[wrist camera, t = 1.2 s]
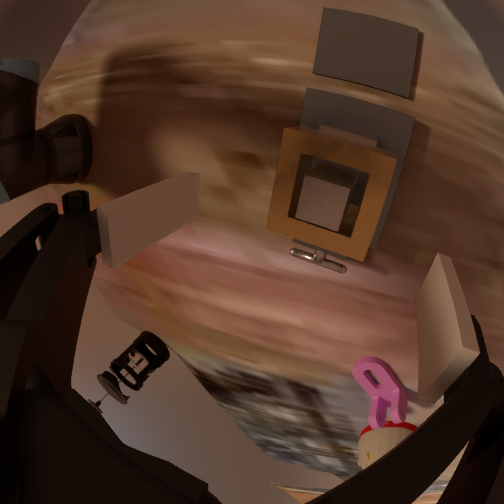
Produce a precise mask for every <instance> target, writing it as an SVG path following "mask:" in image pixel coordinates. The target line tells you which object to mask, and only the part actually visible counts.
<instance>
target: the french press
mask: <svg viewBox="0 0 504 504" xmlns="http://www.w3.org/2000/svg"><path fill="white" fill-rule="evenodd" d="M145 344H147V345H148V346H149V347H151V348H152V349H153V350H154V351H155V353H156V354H157V355H155V354H153V353H152V352H151V351H150V350H149V349H148V348H147V346H146V345H145ZM169 357H170V353H169V351H168V348H167V347H166V345H165V344H164V343H163V342H162V341H161V340H160V339H159V338H158V337H157V336H156V335H154V334H153V333H151V332H148V331H143V332H142V333H141V334H140V336H139V337H138V338H136V339H135V340H134V342H133V344H132V345H130V346H129V347H128V348H127V349H126V350H125V351H124V352H123V353H122V354H121V355H120V356H119V357H118V358H117V359H114V360H113V361H112V362H111V364H110V365H111V366H110V367H109V368H110V370H111V371H112V372H113V373H114V374H116V376H117V377H118V378H119V379H120V381H119V382H118V379H117V378H116V377H115V376H114V375H113V374H111V373H110V372H108V371H104V372H103V373H102V374H101V375H100V374H98V375H97V379H98V381H99V382H100V384H101V385H102V386H103V388H104V389H105V390H106V391H107V392H108V393H107V394H106V395H105V396H104V397H103V398H102V399H101V400H100V401H97V402H96V403H94V402H92V401H91V400H90V399H89V400H88V401H89V403H90V404H91V405H92V406H93V407H94V408H96V409H97V410H98V411H99V412H100V413H103V412H102V411H101V409H100V408H99V406H100V404H101V401H102V400H103V399H104V398H105V397H106V396H107V395H108V394H110V395H111V396H112V397H113V398H115V399H116V400H117V401H119V402H120V403H122V404H127V400H128V399H129V398H130V396H125V395H123V394H122V392H121V390H120V387H119V383H120V382H121V381H122V382H123V383H124V384H125V385H126V386H128V387H130V388H131V389H133V390H136V391H139V390H140V389H141V387H142V386H143V382H144V381H145V380H146V379H147V378H148V377H149V376H150V375H152V374H153V371H154V370H155V369H156V368H159V367H161V366H162V364H163V363H164V362H165V361H167V360H168V359H169ZM130 361H131V363H132V364H133V365H134V367H133V368H131V367H130V366H128V363H129V362H130ZM135 367H136V368H137V369H139V370H140V371H141V372H140V373H139V374H138V375H137V373H136V372H135V371H134V370H133V369H134V368H135ZM123 368H124V369H125V370H126V371H127V372H128V373H127V374H126V375H125V376H123V375H122V374H121V373H120V371H121V370H122V369H123ZM128 374H130V375H131V376H132V377H133V378H134V379H135V381H136V382H137V383H136V384H135V385H134V384H132V383H130V382H129V381H128V380H127V379H126V378H125V377H126V376H127V375H128Z"/></svg>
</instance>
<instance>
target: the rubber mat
mask: <svg viewBox="0 0 504 504" xmlns="http://www.w3.org/2000/svg"><path fill="white" fill-rule="evenodd" d="M418 32H419V29H416V28H413V27H410V26H407V25H404V24H400V23H397V22H394V21H390V20H386V19H382V18H378V17H374V16H370V15H365V14H360V13H355V12H350V11H345V10H338V9H332V8H325V7H323V14H322V20H321V26H320V32H319V39H318V44H317V50H316V56H315V62H314V68H313V74H318V75H323V76H328V77H333V78H337V79H342V80H346V81H350V82H354V83H358V84H362V85H366V86H369V87H373V88H376V89H380V90H383V91H386V92H389V93H393V94H396V95H399V96H402V97H405V98H407V99H408V98H409V93H410V87H411V82H412V76H413V70H414V63H415V57H416V49H417V41H418Z"/></svg>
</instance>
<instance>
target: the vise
mask: <svg viewBox="0 0 504 504" xmlns="http://www.w3.org/2000/svg"><path fill="white" fill-rule="evenodd" d="M414 120H415V117H412V116H410V115H407V114H404V113H401V112H398V111H395V110H392V109H389V108H386V107H383V106H380V105H376V104H373V103H370V102H366V101H363V100H359V99H355V98H352V97H348V96H344V95H340V94H335V93H331V92H327V91H322V90H317V89H312V88H307V89H306V95H305V100H304V106H303V111H302V116H301V122H300V126H303V127H308V128H312V129H316V130H320V131H324V132H328V133H331V134H335V135H339V136H342V137H346V138H349V139H353V140H356V141H359V142H363V143H366V144H369V145H372V146H375V147H378V148H381V149H384V150H387V151H390V152H393V154H394V155H395V157H396V159H397V161H396V165H395V168H394V172H393V175H392V179H391V182H390V186H389V189H388V192H387V195H386V199H385V202H384V205H383V208H382V211H381V214H380V217H379V220H378V223H377V226H376V229H375V231H374V234H373V237H372V240H371V242H370V245H369V248H371V249H374V250H375V248H376V246H377V243H378V240H379V238H380V235H381V232H382V230H383V227H384V224H385V221H386V218H387V215H388V212H389V209H390V206H391V203H392V200H393V197H394V194H395V191H396V188H397V184H398V181H399V178H400V174H401V171H402V167H403V164H404V160H405V157H406V153H407V149H408V145H409V141H410V137H411V133H412V129H413V125H414ZM368 175H369V173H368V172H365V171H361V170H358V169H355V168H352V167H349V166H346V165H342V164H339V163H336V162H332V161H329V160H325V159H322V158H318V157H315V156H313V161H312V165H311V170H310V171H309V172H308V173H307V174H305V176H304V180H303V185H302V189H301V194H300V198H299V203H298V207H297V211H296V216H295V218H298V219H301V220H305V221H308V222H311V223H314V224H317V225H320V226H323V227H326V228H328V229H331V230H334V231H337V232H338V230H339V227H340V225H341V222H342V220H343V217H344V214H345V213H347V214H350V215H352V216H355V217H356V216H357V213H358V210H359V206H360V203H361V200H362V196H363V193H364V190H365V186H366V183H367V179H368ZM293 242H295V243H298V244H301V245H303V246H306V247H309V248H312V249H315V252H314V254H312V253H309V252H306V251H303V250H300V249H297V248H292V249H291V250H290V254H291V255H292V256H294V257H297V258H300V259H303V260H306V261H308V262H311V263H314V264H317V265H320V266H322V267H325V268H328V269H331V270H334V271H336V272H339V273H345V272H346V271H347V267H346V266H345V265H343V264H340V263H337V262H334V261H332V260H329V259H326V255H327V254H329V255H332V256H335V257H338V258H341V259H343V260H346V261H347V258H348V257H347V256H344V255H341V254H339V253H336V252H333V251H330V250H327V249H324V248H321V247H319V246H316V245H313V244H310V243H307V242H304V241H301V240H298V239H295V238H293Z"/></svg>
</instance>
